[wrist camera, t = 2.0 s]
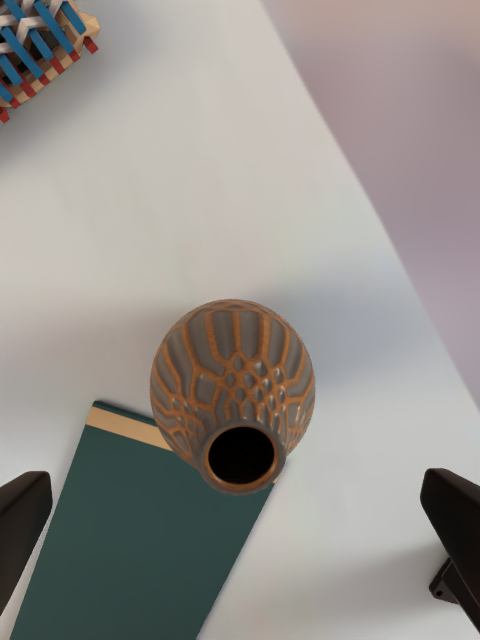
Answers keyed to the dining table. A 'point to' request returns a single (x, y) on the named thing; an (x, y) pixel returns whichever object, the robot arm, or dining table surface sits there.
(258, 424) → the vase
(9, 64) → the woven mat
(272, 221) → the dining table surface
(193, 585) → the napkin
